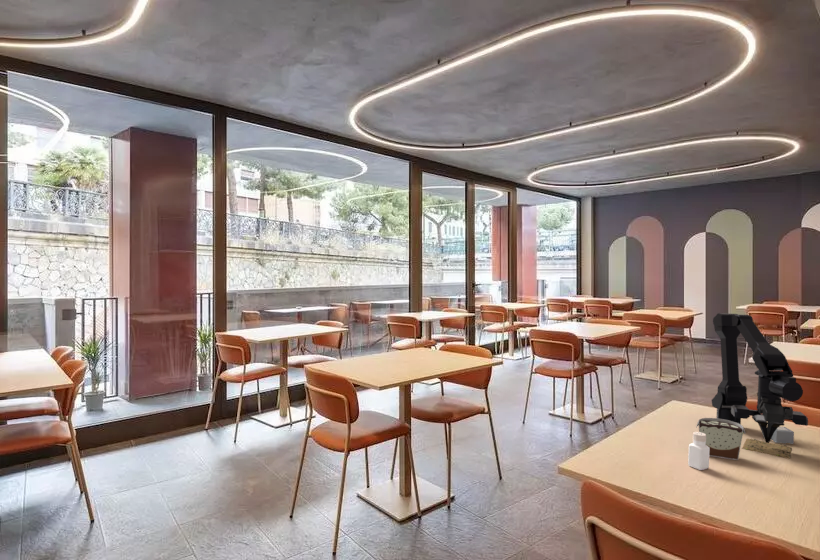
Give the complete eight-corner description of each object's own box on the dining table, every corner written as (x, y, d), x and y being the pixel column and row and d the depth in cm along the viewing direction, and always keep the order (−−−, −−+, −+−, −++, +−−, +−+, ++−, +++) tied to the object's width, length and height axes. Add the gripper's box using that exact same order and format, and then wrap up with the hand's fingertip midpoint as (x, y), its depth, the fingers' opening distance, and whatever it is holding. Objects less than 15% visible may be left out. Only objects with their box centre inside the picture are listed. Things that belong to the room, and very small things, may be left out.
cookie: (745, 439, 164) (745, 436, 164) (792, 448, 156) (792, 445, 156) (740, 449, 155) (741, 446, 155) (790, 460, 147) (790, 457, 147)
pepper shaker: (700, 471, 137) (702, 436, 137) (687, 465, 141) (688, 432, 140) (709, 468, 139) (711, 434, 138) (695, 463, 142) (697, 430, 142)
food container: (740, 454, 150) (741, 421, 150) (744, 461, 145) (745, 427, 144) (693, 447, 155) (694, 415, 155) (695, 453, 150) (696, 420, 149)
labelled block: (776, 443, 160) (776, 430, 160) (767, 437, 165) (768, 425, 165) (793, 444, 159) (794, 431, 159) (784, 438, 164) (784, 426, 164)
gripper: (739, 395, 151) (737, 446, 151) (815, 402, 144) (813, 456, 144) (731, 386, 161) (729, 434, 162) (802, 393, 154) (800, 443, 155)
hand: (766, 442), depth 155 cm, fingers closed
